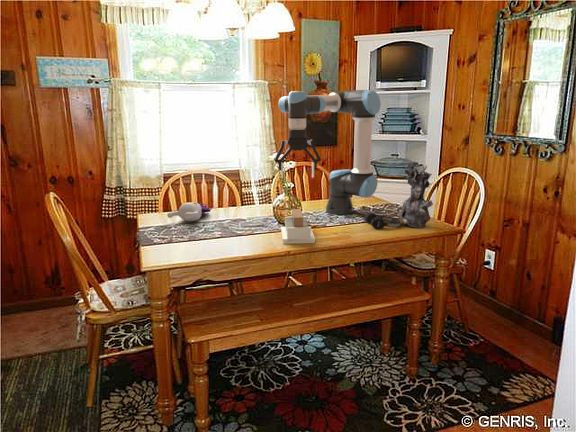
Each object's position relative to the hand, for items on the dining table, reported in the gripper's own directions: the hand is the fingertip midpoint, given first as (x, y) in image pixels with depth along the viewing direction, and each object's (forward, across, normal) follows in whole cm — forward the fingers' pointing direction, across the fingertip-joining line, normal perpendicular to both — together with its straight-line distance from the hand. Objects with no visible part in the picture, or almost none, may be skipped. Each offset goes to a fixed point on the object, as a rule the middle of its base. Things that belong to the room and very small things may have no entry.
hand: (297, 177), depth 194 cm
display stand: (+27, 0, -1) cm, 27 cm away
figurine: (+27, -51, +31) cm, 66 cm away
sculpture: (+28, +59, +13) cm, 67 cm away
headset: (+28, +43, +15) cm, 53 cm away
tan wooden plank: (+21, 0, -1) cm, 21 cm away
